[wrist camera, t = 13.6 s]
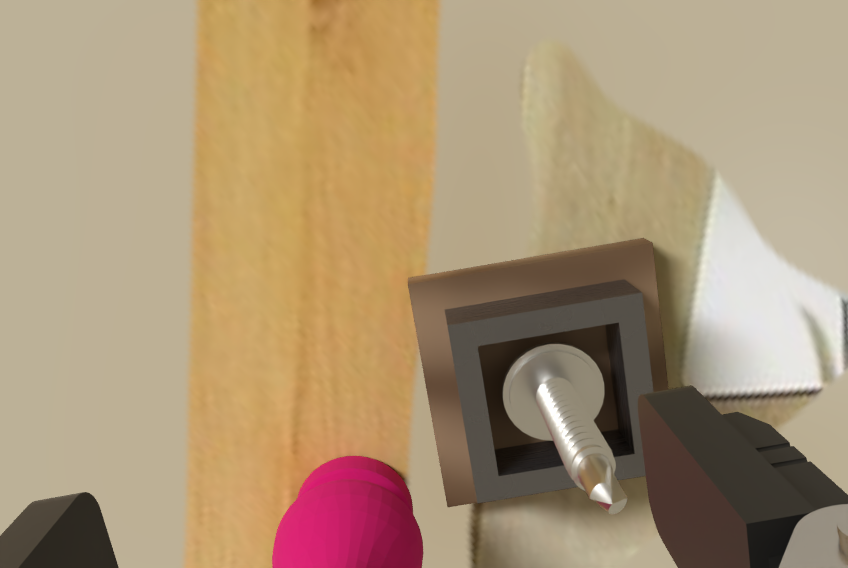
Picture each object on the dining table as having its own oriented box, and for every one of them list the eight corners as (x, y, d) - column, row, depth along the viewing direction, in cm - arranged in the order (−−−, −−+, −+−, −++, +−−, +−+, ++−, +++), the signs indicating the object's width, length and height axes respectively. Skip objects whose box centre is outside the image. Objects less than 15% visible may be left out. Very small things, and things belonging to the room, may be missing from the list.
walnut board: (407, 278, 39) (407, 284, 38) (643, 238, 39) (652, 242, 38) (446, 493, 42) (447, 507, 40) (667, 456, 42) (677, 469, 40)
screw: (497, 333, 38) (595, 330, 39) (498, 425, 39) (593, 422, 40) (540, 439, 26) (686, 435, 26) (539, 571, 27) (680, 567, 27)
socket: (444, 309, 38) (447, 325, 35) (624, 279, 38) (641, 292, 35) (472, 475, 40) (477, 503, 37) (644, 446, 40) (662, 472, 37)
